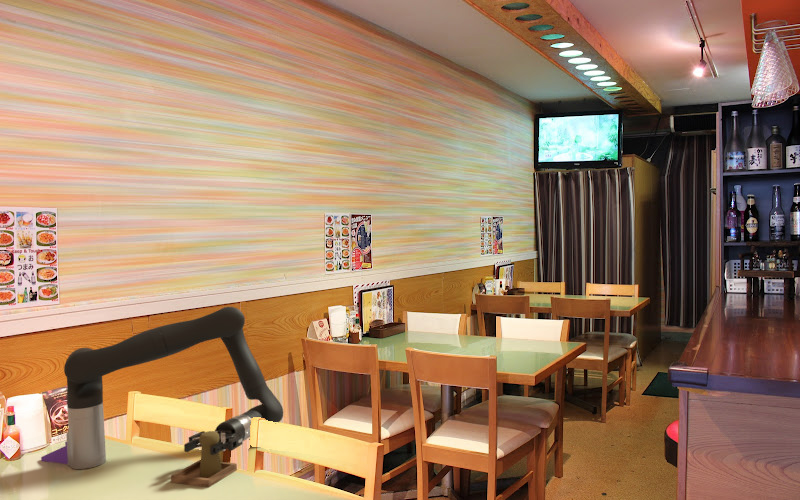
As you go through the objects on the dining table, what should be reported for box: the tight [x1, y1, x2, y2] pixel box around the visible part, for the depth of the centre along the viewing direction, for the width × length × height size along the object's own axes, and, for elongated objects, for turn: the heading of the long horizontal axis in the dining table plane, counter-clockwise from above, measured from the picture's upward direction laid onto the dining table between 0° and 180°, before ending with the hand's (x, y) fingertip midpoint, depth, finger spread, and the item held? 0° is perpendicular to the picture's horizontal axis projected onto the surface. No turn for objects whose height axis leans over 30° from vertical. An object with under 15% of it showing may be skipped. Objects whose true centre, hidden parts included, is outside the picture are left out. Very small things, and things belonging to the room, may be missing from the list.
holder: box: [170, 459, 238, 488], centre depth 168 cm, size 12×12×2 cm
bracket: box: [40, 441, 68, 465], centre depth 186 cm, size 12×7×7 cm, turn 69°
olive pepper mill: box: [199, 430, 222, 477], centre depth 168 cm, size 6×6×11 cm
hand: (198, 449), depth 166 cm, fingers open, 8 cm apart
